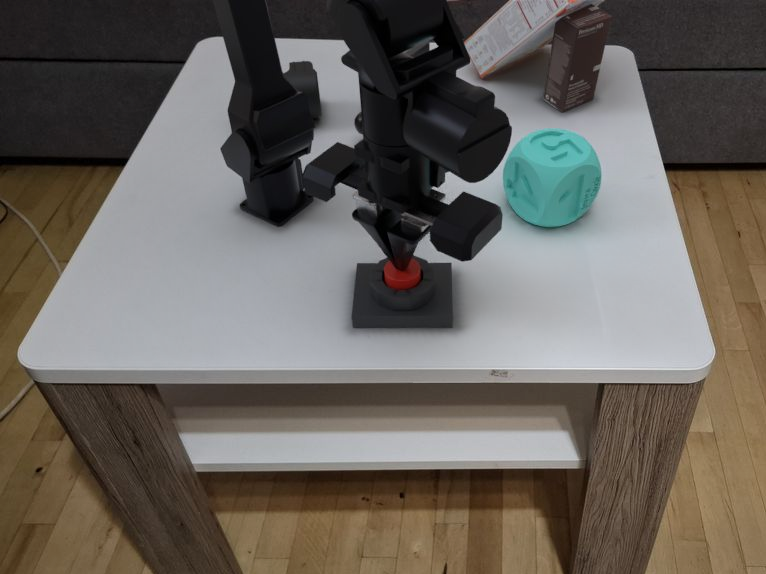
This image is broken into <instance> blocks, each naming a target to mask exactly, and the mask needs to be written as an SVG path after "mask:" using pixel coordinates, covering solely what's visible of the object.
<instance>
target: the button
mask: <svg viewBox="0 0 766 574" xmlns="http://www.w3.org/2000/svg"><path fill="white" fill-rule="evenodd" d="M384 274H385V284H386V286H388V287H390V288H393V289H395V290H409V289H411V288H414V287H416V286H418V285H419V284H420V282H421V273H420V265H419V263H418V262H417V261H416V260H414V259H411V261H410V263H409V265H408V267H407V268H406V269H405V270H404V271H403V272H402V271H400V270H397V269H396V268H395V267H394V266H393V264H392V263H391V262H390V261H388V262H387V263H386V265H385V267H384Z"/></svg>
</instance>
